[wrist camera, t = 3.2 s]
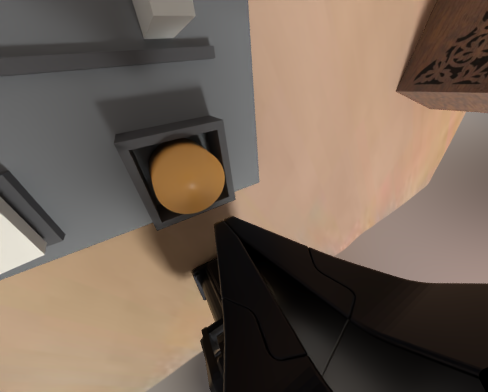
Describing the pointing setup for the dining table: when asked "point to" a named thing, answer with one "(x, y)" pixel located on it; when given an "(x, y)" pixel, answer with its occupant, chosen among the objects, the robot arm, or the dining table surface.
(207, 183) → the push button
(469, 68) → the tissue box cover
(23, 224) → the white slab
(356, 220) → the dining table surface
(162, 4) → the grey angular block
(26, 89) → the panel
